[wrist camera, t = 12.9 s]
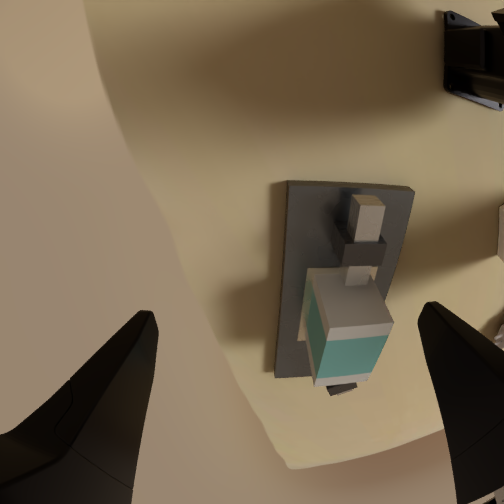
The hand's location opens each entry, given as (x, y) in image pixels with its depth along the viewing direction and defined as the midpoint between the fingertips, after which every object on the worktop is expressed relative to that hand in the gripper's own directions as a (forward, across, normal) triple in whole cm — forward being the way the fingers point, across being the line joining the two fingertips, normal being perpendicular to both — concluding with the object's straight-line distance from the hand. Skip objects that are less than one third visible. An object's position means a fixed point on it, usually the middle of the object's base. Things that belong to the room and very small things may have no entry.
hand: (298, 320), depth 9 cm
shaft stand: (+12, -6, +10) cm, 17 cm away
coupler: (+11, -6, +10) cm, 16 cm away
